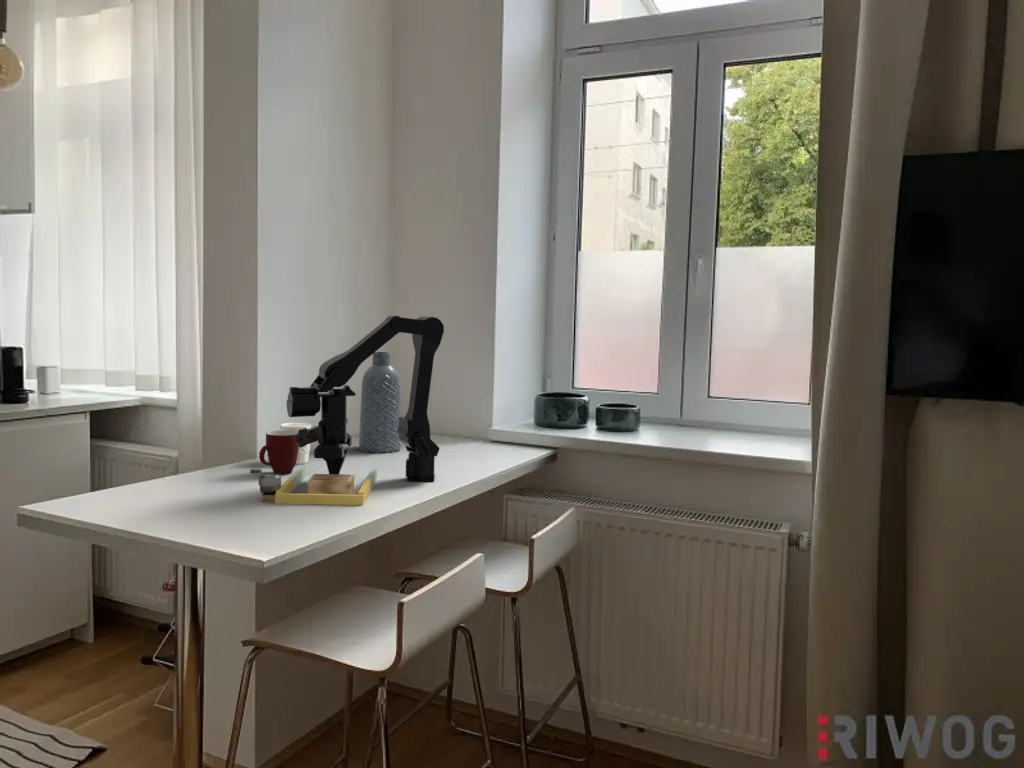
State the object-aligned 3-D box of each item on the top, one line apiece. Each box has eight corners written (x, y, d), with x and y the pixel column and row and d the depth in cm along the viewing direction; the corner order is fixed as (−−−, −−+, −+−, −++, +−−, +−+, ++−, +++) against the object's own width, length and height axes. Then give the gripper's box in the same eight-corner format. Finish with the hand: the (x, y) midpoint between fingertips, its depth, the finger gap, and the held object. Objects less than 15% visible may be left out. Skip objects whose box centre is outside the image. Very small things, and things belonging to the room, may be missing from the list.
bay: (377, 477, 203) (377, 467, 203) (363, 505, 175) (363, 493, 175) (301, 475, 202) (301, 465, 202) (274, 503, 174) (275, 491, 174)
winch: (281, 498, 179) (281, 467, 179) (277, 502, 175) (277, 471, 175) (253, 497, 179) (253, 467, 178) (248, 502, 175) (248, 471, 174)
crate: (354, 491, 188) (354, 473, 188) (349, 499, 181) (350, 480, 181) (313, 491, 188) (314, 473, 187) (308, 498, 181) (308, 479, 180)
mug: (274, 479, 197) (274, 438, 196) (250, 475, 201) (250, 434, 200) (306, 472, 206) (306, 432, 205) (283, 468, 210) (283, 429, 209)
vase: (350, 449, 239) (351, 351, 236) (379, 444, 249) (380, 350, 246) (380, 455, 232) (382, 354, 230) (409, 449, 242) (411, 353, 239)
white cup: (309, 458, 224) (309, 422, 223) (312, 464, 216) (312, 426, 215) (279, 459, 221) (279, 422, 220) (280, 465, 214) (281, 427, 213)
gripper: (305, 409, 200) (305, 473, 201) (290, 420, 181) (290, 490, 183) (352, 410, 201) (351, 473, 202) (342, 421, 182) (341, 491, 184)
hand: (333, 481), depth 193 cm, fingers closed
